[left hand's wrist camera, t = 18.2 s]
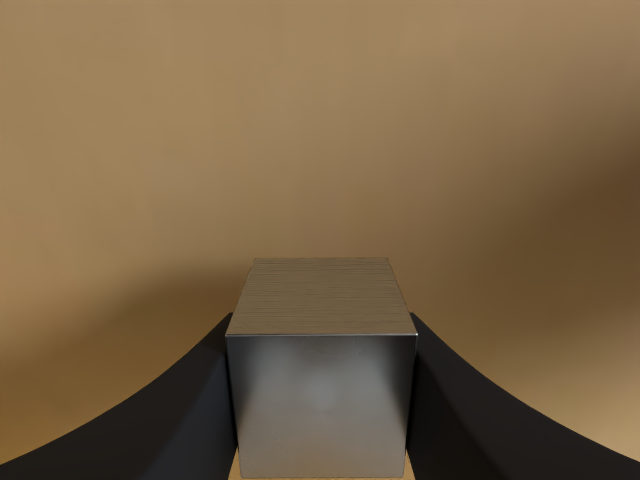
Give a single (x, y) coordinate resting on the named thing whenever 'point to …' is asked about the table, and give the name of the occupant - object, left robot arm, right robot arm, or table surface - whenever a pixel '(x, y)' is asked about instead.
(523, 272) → the table surface
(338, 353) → the grey cube
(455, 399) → the left robot arm
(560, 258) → the table surface
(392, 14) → the table surface
